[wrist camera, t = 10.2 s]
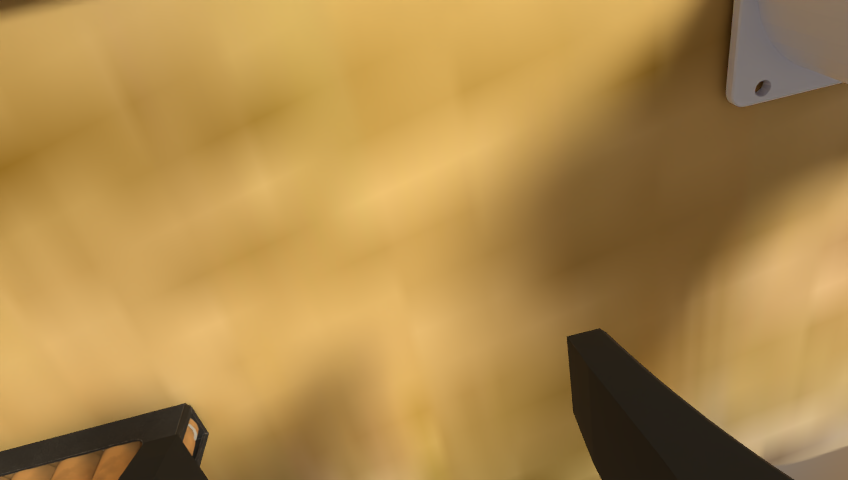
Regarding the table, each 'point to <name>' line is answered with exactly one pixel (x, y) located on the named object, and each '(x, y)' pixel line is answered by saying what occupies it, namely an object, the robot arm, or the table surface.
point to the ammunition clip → (102, 447)
